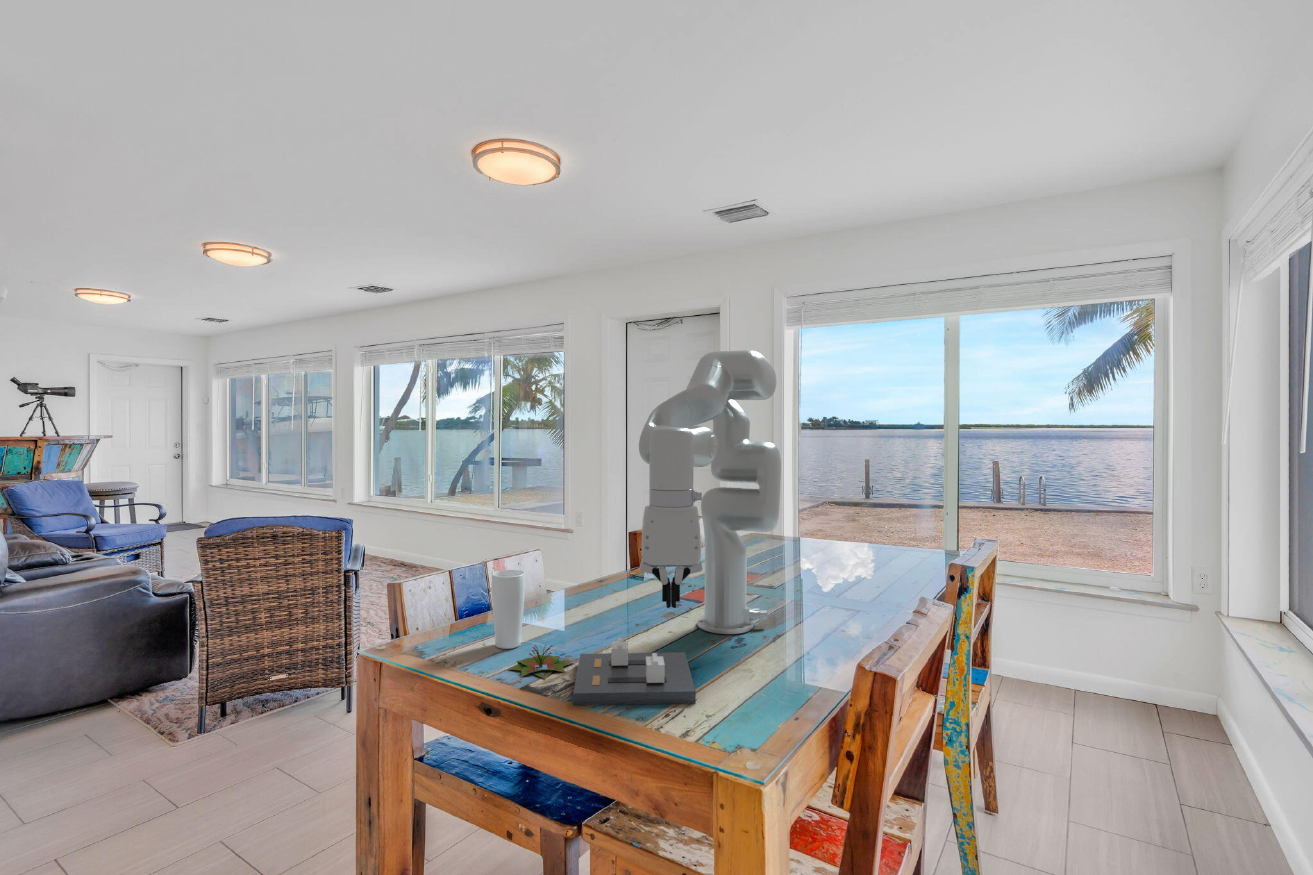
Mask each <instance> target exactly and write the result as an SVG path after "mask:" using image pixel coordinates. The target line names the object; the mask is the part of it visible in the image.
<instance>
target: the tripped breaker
mask: <svg viewBox="0 0 1313 875" xmlns="http://www.w3.org/2000/svg"><path fill="white" fill-rule="evenodd" d="M651 653H652V656H651V657H646V681H647V683H664V682H665V664H664V659H663V656H657V653H658V652H651Z"/></svg>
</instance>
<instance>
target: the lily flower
mask: <svg viewBox="0 0 1313 875" xmlns="http://www.w3.org/2000/svg"><path fill="white" fill-rule="evenodd" d="M546 646H547V643H545V645H544V648H543V650H542V652H539V649H538V647H537V645H536V644H534V646H532V649H531V652H532V653H528V655H529V656H531V657H526V658H523V659H520V660H519V659H518V662H519V664H515V665H513V666H511V667H510V668H508V670H512V671H513V670H514V671H520V672H521V674H520V678H522V677H524V676H526V675H529V674H531V673H532V674H533V675H534V676H538V677H540V678H542V679H543V680H545V679H546V678H547V677H548V676H550V675H551V674H552V673H553V671H557V672H561V673H565V674H566V673H567V672H566V671H565V669H564V667H566V666H569V665H573V664H574V662H571V661H566V660H560V658H561V656H556V655H555V656H554V655H552V652H549V653H548V654H547V652H548V651H549V650H551V648H552V647H553V646H554V645H550V646H549V647H548V648H547V649H546V650H545V648H546ZM539 647H540V648H541V645H540V646H539ZM533 654H534V655H533ZM546 654H547V655H546ZM520 663H521V664H520ZM536 666H538V667H539V668H543V666H546V667H547V668H543V669H536ZM539 671H546V672H545V673H540V672H539Z"/></svg>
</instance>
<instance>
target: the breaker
mask: <svg viewBox="0 0 1313 875" xmlns="http://www.w3.org/2000/svg"><path fill="white" fill-rule="evenodd" d="M610 648H611V651H610V653H611V666H615V665H628V653H629V641H627V640H625V641H624V640H623V638H622V637H617V640H616V641H611V647H610Z"/></svg>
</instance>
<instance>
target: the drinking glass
mask: <svg viewBox="0 0 1313 875" xmlns="http://www.w3.org/2000/svg"><path fill="white" fill-rule="evenodd" d="M525 597H526V573H525V571H523V570H519V569H503V570H497V571H494V572H493V573H492V574H491V604H492V614H493V626H494V628H493V629H494V645H495V647H497V648H498V649H501V650H509V649H516V648H518V647H519V646H521V644H522V635H523V633H522V632H523V631H522V630H523V621H524V620H523V619H524V612H525V610H524V609H525V608H524V607H525V599H526V598H525Z"/></svg>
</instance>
